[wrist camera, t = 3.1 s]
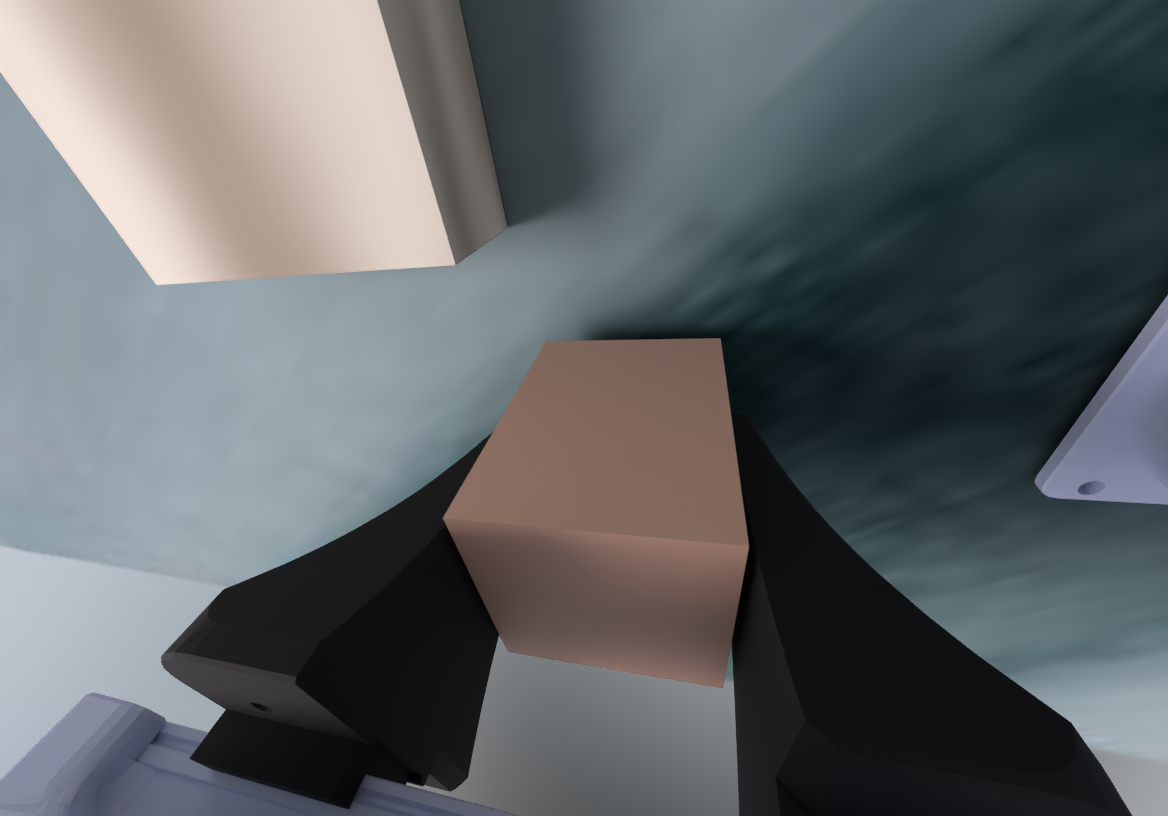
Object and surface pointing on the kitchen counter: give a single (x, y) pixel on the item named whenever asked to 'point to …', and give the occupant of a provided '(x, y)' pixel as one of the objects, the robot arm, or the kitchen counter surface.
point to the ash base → (264, 129)
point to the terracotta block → (612, 510)
